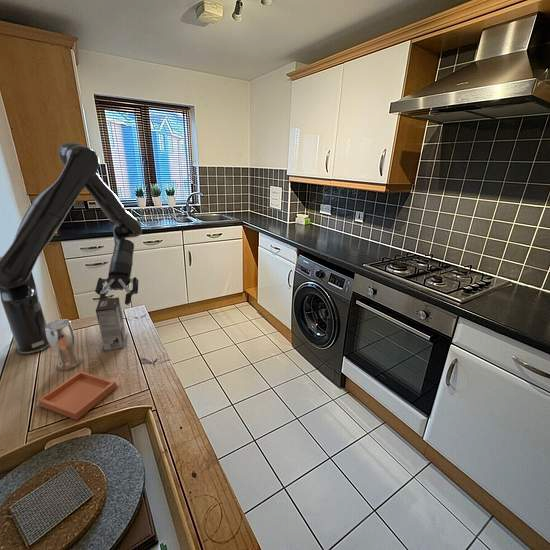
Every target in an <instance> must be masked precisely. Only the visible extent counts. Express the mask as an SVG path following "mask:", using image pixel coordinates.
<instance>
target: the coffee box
mask: <svg viewBox="0 0 550 550" xmlns="http://www.w3.org/2000/svg"><path fill="white" fill-rule="evenodd" d="M95 313H96V318H97V322H98V327H99V331H100V336H101V340H102V345H103V349H104V351H111V350H115V349H116V350H117V349H122V348H124V347H125V343H126V337H127V331H126V326H125V321H124V315H123V312H122V307H121V302H120V296H119V297H118V296H117V297H106V299H100V300H99V299H98V303H97V306H96V308H95Z"/></svg>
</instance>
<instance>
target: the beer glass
mask: <svg viewBox="0 0 550 550" xmlns="http://www.w3.org/2000/svg"><path fill="white" fill-rule="evenodd" d="M44 328H45V333H46V338H47V341H48V344H49V348H50V350H51V351H52V353H53V354H54V356H55V360H56V368H57V370H59V371H68V370H72V369H74V368H75V367H77V366H78V365H79V364H80V363H81V361H80V360H81V359H80V358H79V356H78V354H77V351H76V334H75V331H74V328H73V325H72V323H71V320H70V319H68V318H61V319H55V320H52V321H49V322H48V323H46V325H45V327H44Z"/></svg>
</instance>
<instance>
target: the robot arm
mask: <svg viewBox="0 0 550 550" xmlns="http://www.w3.org/2000/svg"><path fill="white" fill-rule="evenodd" d="M57 157H58V159H59V161H60V163H61V165H62V166H63V169H62V171H61V173H60V174H59V176H58V177H57V179H56V180H55V181H54V182H53V183H52V184H51V185H49V186H48V187H47V188H45V189H44V190H43V191H41V192H40V193H38V195H36V197H35V198H34V199H33V201H32V202H30V204H29V206H28V208H27V210H26V212H25V213H24V215H23V217H22V219H21V222H20V223H19V226H18V228H17V231H16V234H15V236H14V239H13V240H12V243H11V245H10V246H9V247H8V249H7V250H6V251H5V252H4V254H3V255H2V256H0V301H1V304H2V308H3V311H4V313H5V316H6V319H7V322H8V324H9V325H8V326H9V329H10V330H11V333H12V337H13V340H14V343H15V346H16V348H17V352H18V354H20V355H31V354H36V353H38V352H41V351H44V350H45V349H47V348H48V347H49V348H50V346H49V344H48V341H47V338H46V333H45V328H44V327H45V325H46V324H47V323H46V319H45V315H44V312H43V309H42V305H41V301H40V298H39V295H38V290H37V289H38V288H37V285H36V281H35V278H34V274H33V270H34V267H35V265H36V263H37V261H38V259H39V257H40V255H41V253H42V252H43V251H44V249H45V248H46V247H47V246H48V244H49V243H50V242H51V240H52V239H53V237H54V236H55V234H57V231H58V230H59V229H60V227H61V226H62V224H63V222H64V220H65V219H66V217H67V215H68V214H69V211H70V210H71V208H72V207H73V205H74V204H75V202H76V200H77V199H78V197H79V195H81V192H82V191H83V189H84V188H85V189H86V191H87V192H88V193H89V194H90V196H91V197H92V198H93V200H94V201H95V202H96V204H97V205H98V207H99V208H100V209H101V211H102V212H103V214H104V215H105V216H106V217H107V219H108V220H109V221H110V222H113V223H114V224H113V226H112V234H113V242H114V246H113V251H112V255H111V258H110V263H109V269H108V276H107V278H102V277H99V278H98V280H97V283H96V286H95V290H94V292H95V293H96V294H97V296H98V295H99V299H98V301H99V300H100V299H106V298H107V295H108V294H109V293H111V292H113V291H123V290H124V291H125V292H126V293H125V298H124V304H125V305H126V306H130V304H131V303H132V296H133V295H137V294H139V279H138V278H137V277H136V276H134V277H133V278H131V276H132V269H133V266H134V265H133V264H134V263H133V262H134V252H135V243H134V242H133V241H132V240H130V239H133V238H138V237H140V236H141V235H142V232H143V228H142V225H141V224H140V222H139V221H138V219H137V218H135V217H134V216H133V215H132V214H131V213H130V212H129V211H127V210H126V208H125V207H124V205H123V204H122V202H121V201H120V199H119V198H118V196H117V195H116V194H115V193H114V192H113V191H112V190H111V189H110V188H109V186H108V185H107V184H106V183H105V182H104V181H103V180H102V178H101V177H100V175H99V174H98V173H97V172H98V169H99V167H100V158H99V155H98V154H97V152H96V151H95V150H93V149H92V148H90V147H89V146H86V145H85V144H84V145H83V144H82V143H79V142H75V141H66V142H63V143H62V144H61V145H60V146H59V148H58V150H57ZM106 283H107V284H106ZM130 283H131V284H132V286H131V287H132V288H131V289H130V288H129V285H130Z"/></svg>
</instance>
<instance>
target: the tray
mask: <svg viewBox="0 0 550 550" xmlns="http://www.w3.org/2000/svg"><path fill="white" fill-rule="evenodd" d="M117 388H118V386H117V381H115V380H112V379H108V378H106V377H102V376H98V375H95V374H93V373H89V372H85V371H83V370H80V371H79V372H77V373H76V374H74V375H73V376H71V377H70V378H68V379H67V380H65V381H64V382H62V383H61V384H60V385H58V386H56V387H55V388H53V389H52V390H50V391H49V392H48V393H46V394H44V395H43V396H42V397H40V398H38V399H37V402H38V405H39V407H41V408H43V409H47V410H48V411H52V412H54V413H57V414H59V415H62V416H65V417H68V418H71V419H73V420H76V421H78V420H79V419H80V418H82V417H83V416H84V415H86V413H88V412H89V411H90V410H91V409H92V408H93V407H95V406H96V405H97V404H98V403H100V402H101V401H102V400H103V399H105V398H107V396H108V395H110V393H112V392H114V391H115V389H117Z"/></svg>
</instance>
